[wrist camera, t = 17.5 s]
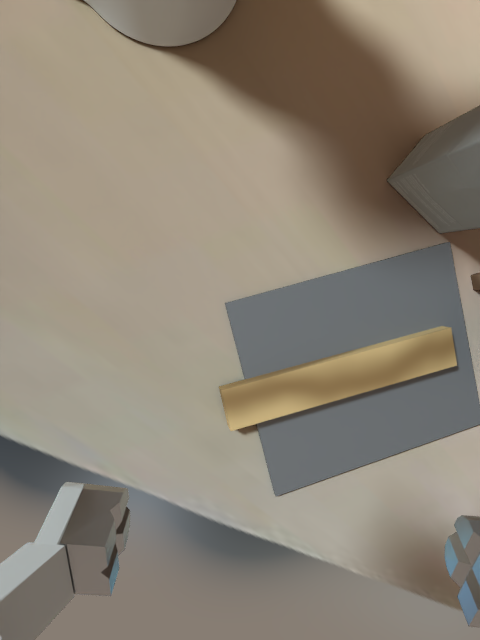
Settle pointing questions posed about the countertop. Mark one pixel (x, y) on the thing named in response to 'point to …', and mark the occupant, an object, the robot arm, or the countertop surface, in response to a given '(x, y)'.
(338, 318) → the rubber mat
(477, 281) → the walnut shelf
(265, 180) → the countertop surface
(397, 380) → the ochre block
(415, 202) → the skincare box
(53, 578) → the robot arm
